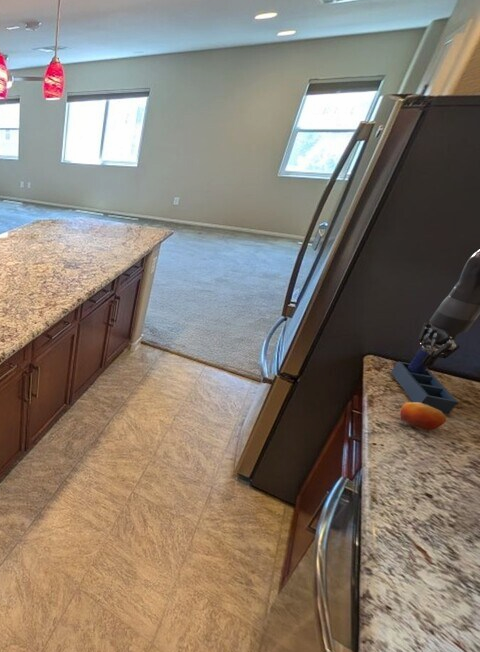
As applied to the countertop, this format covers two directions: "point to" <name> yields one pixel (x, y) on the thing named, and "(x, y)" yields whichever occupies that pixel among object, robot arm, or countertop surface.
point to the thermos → (419, 360)
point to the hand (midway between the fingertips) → (422, 360)
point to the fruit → (422, 416)
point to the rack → (424, 388)
